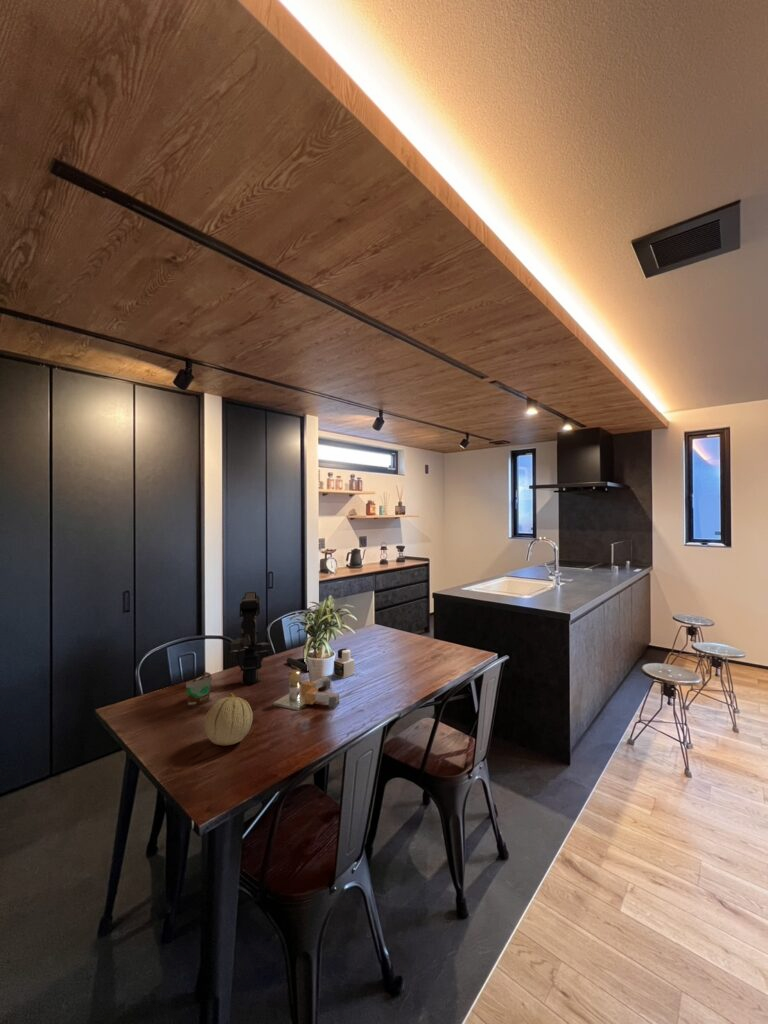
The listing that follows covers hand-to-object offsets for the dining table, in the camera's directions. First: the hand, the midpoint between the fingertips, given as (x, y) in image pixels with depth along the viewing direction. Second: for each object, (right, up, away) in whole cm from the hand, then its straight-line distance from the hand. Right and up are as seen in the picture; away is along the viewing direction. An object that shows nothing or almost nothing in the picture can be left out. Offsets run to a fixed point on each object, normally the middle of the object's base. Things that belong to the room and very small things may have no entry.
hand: (249, 668), depth 172 cm
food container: (-17, -12, -5) cm, 22 cm away
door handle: (+17, -14, +38) cm, 44 cm away
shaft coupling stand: (+29, -11, -3) cm, 31 cm away
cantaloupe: (+6, -11, -37) cm, 39 cm away
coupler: (+21, -10, -6) cm, 24 cm away
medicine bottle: (+38, -12, +23) cm, 46 cm away
